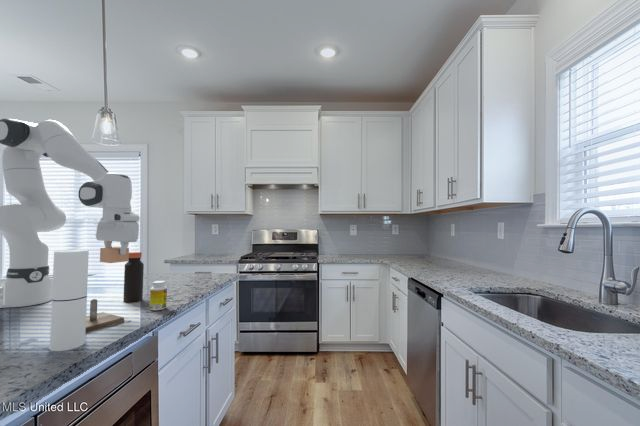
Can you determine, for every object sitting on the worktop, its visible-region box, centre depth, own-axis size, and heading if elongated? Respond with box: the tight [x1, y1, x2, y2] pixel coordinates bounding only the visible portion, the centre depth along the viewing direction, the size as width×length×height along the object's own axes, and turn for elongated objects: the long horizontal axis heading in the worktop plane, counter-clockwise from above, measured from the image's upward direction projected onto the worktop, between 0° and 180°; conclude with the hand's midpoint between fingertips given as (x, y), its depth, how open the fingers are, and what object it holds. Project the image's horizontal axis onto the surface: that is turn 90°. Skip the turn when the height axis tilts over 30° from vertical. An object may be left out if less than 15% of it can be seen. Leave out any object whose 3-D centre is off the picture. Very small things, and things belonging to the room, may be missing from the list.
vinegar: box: [122, 251, 145, 303], centre depth 125 cm, size 7×7×20 cm
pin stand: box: [85, 298, 125, 334], centre depth 95 cm, size 12×12×8 cm
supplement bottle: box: [149, 280, 168, 311], centre depth 113 cm, size 6×6×10 cm
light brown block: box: [99, 246, 130, 264], centre depth 110 cm, size 6×6×5 cm
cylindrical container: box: [49, 249, 90, 352], centre depth 79 cm, size 7×7×25 cm
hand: (115, 253), depth 110 cm, fingers closed on light brown block, 6 cm apart
